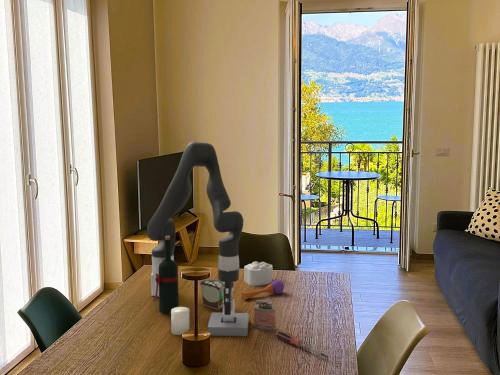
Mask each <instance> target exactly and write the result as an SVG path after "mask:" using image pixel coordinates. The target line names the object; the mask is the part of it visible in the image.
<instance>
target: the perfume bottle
mask: <svg viewBox="0 0 500 375" xmlns="http://www.w3.org/2000/svg"><path fill="white" fill-rule="evenodd" d="M253 312H254V316H253V317H254V318H253V320H254V322H253V323H254V324H253V327H254V328H255V329H260V330H267V331H268V330H269V331H274V330H276V308H275V307H274V306H273V302H272V301H268V300H264V301H263V300H258V299H256V300H255V305H254V306H253Z"/></svg>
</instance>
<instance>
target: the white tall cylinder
mask: <svg viewBox="0 0 500 375" xmlns="http://www.w3.org/2000/svg"><path fill="white" fill-rule="evenodd" d="M226 301H229V299H226ZM235 301H236V300H235V299H233V298H232V299H231V314H230V315H225V314H224V304H223V305H222V313H223V323H235V313H236V312H235V311H236V310H235V308H236V307H235V306H236V304H235ZM223 302H224V299H223Z"/></svg>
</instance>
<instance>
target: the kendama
mask: <svg viewBox="0 0 500 375" xmlns="http://www.w3.org/2000/svg"><path fill="white" fill-rule="evenodd" d="M284 289H285V285H284V283H283V281H282V280H278V279H275V280H273V281H272V282H271V283H269V284H267V285H266V287H264V288H263V289H258V290H252V291H244V292H242V293H241V295H240V296H241V299H242V300H243V301H247V300H249V299H252V298H253V297H256V296H258V295H261V294H263V293H267V294H271V295H273V294H274V295H279V294H282V293H283V291H284Z"/></svg>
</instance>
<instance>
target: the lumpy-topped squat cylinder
mask: <svg viewBox="0 0 500 375" xmlns="http://www.w3.org/2000/svg"><path fill="white" fill-rule="evenodd" d="M243 269H244V272H243V273H244V274H243V275H244V279H243V280H244V281H243V282H245V283H246V284H248V285H249V286H265V285H269V284H271V283H272V282H273V281H274V280H273V277H274V275H273V272H274V270H273V269H274V268H273V264H270V263H267V262H265V261H261V262H258V261H253V262H252V263H249V264H247V265H244V267H243Z"/></svg>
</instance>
